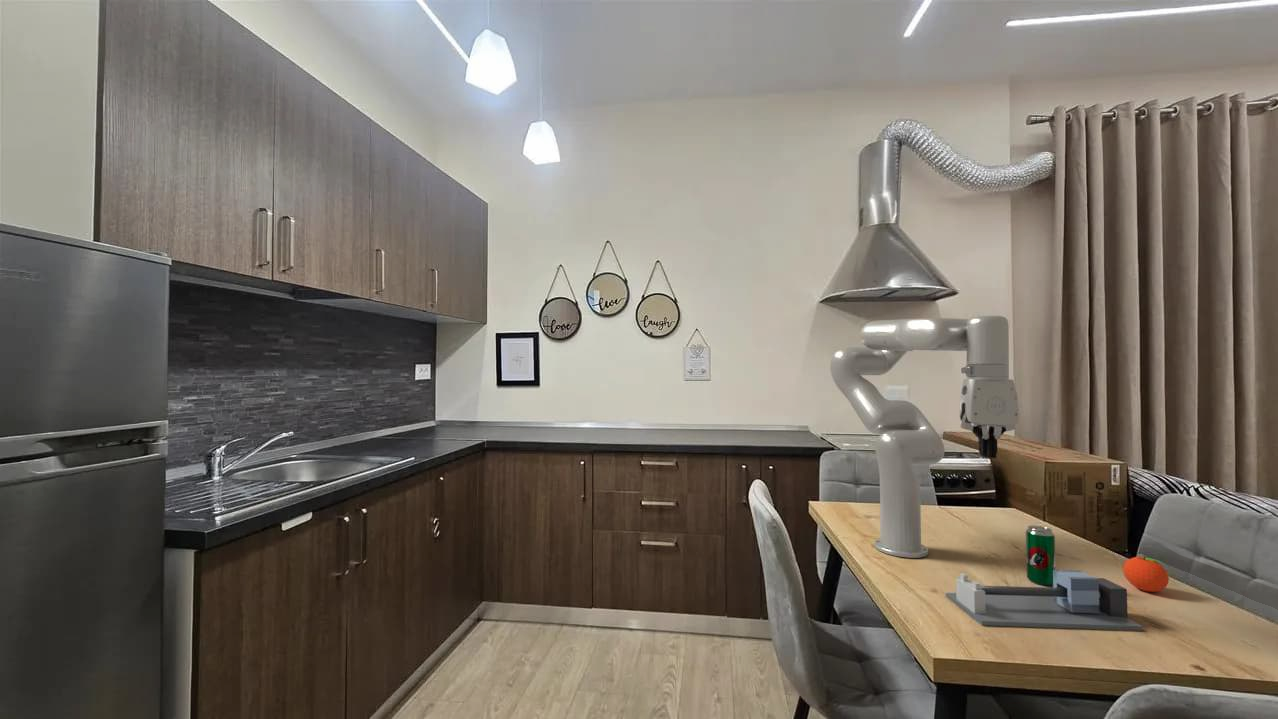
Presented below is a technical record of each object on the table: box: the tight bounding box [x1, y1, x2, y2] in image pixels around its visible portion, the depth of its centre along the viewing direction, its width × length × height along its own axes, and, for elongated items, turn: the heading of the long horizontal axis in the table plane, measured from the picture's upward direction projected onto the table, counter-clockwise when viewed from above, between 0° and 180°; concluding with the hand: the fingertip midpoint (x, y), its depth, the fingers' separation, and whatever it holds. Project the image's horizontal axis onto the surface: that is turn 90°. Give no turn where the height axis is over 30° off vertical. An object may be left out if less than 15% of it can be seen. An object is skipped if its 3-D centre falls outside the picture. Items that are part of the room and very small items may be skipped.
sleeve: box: [1052, 569, 1099, 613], centre depth 96 cm, size 5×4×6 cm
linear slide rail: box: [945, 573, 1144, 632], centre depth 96 cm, size 28×12×6 cm, turn 86°
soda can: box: [1025, 525, 1057, 587], centre depth 111 cm, size 5×5×12 cm
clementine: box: [1122, 556, 1174, 593], centre depth 106 cm, size 8×7×7 cm
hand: (987, 456), depth 107 cm, fingers closed
